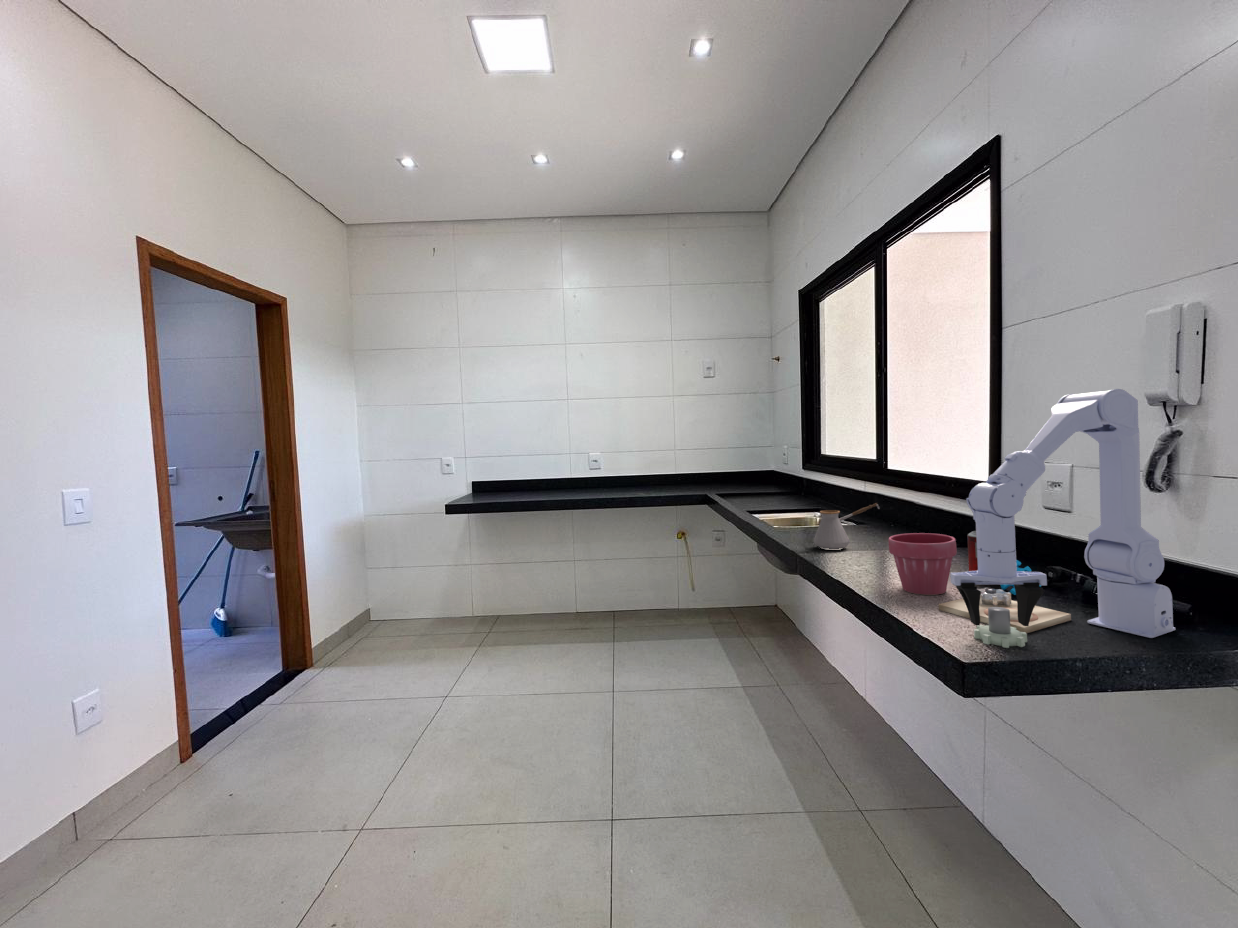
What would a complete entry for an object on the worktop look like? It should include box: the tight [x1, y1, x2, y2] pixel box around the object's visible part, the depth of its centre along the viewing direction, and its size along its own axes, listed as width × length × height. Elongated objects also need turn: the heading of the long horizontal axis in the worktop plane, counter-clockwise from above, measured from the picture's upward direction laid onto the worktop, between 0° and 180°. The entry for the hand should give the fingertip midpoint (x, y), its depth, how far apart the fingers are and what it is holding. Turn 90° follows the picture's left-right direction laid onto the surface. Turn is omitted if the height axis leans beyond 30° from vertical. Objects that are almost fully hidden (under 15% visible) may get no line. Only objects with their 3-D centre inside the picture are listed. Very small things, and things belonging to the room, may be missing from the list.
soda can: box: [966, 530, 978, 571], centre depth 131 cm, size 7×7×12 cm
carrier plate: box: [938, 598, 1072, 634], centre depth 108 cm, size 17×14×1 cm
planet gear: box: [973, 607, 1028, 649], centre depth 95 cm, size 8×8×6 cm
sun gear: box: [977, 587, 1012, 607], centre depth 113 cm, size 7×7×3 cm
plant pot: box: [888, 532, 958, 596], centre depth 127 cm, size 14×14×13 cm
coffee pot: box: [813, 502, 881, 549], centre depth 178 cm, size 21×12×15 cm, turn 78°
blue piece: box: [999, 559, 1042, 596], centre depth 122 cm, size 11×6×10 cm
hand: (999, 623), depth 95 cm, fingers open, 7 cm apart
